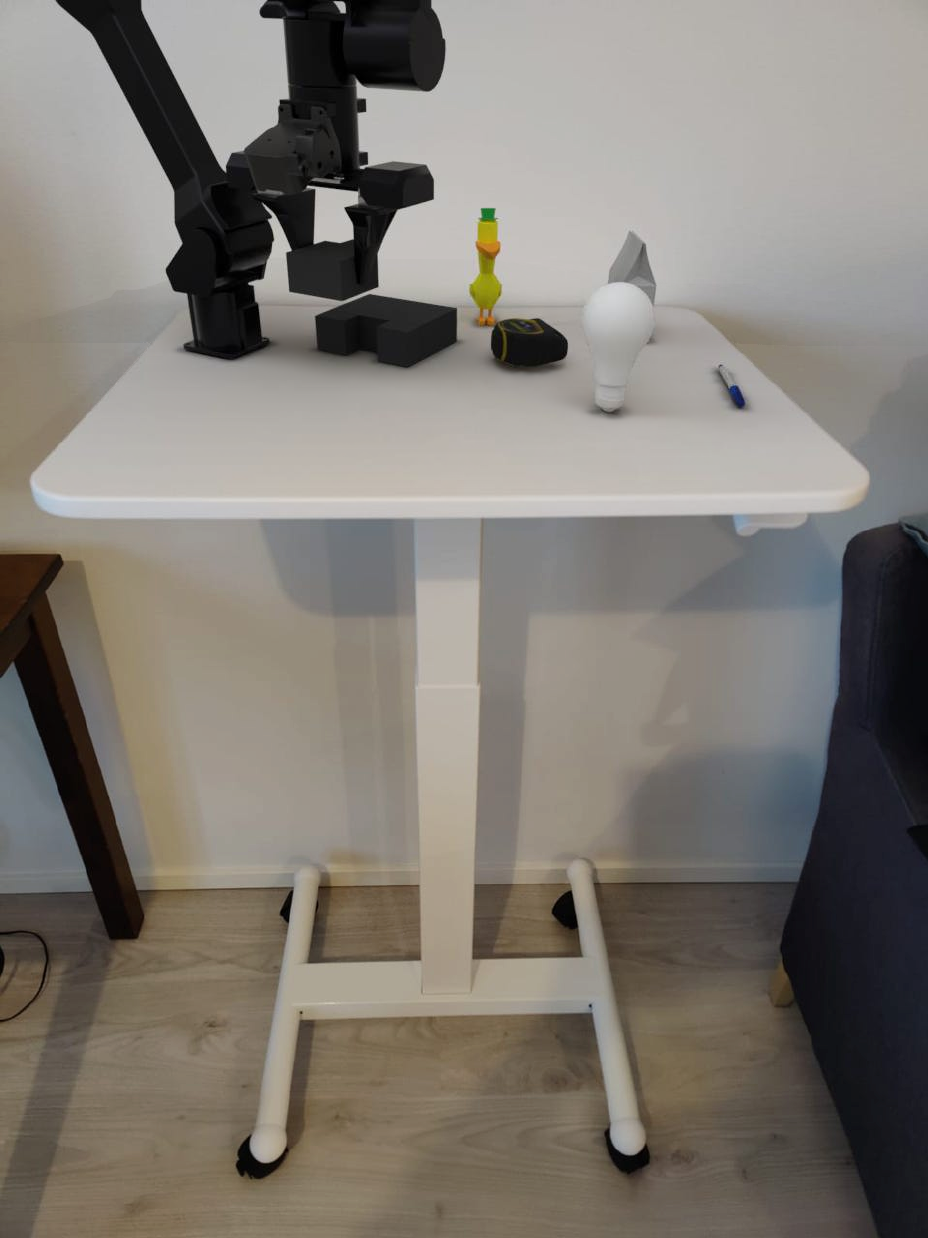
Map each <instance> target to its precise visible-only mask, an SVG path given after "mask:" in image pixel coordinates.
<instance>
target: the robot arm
mask: <svg viewBox="0 0 928 1238" xmlns="http://www.w3.org/2000/svg"><path fill="white" fill-rule="evenodd" d="M54 1H55V2H56V4H57V5H58V6H59V7H60V8H61V9H63V10H64V11H65V13H67V14H68V15H70V17H72V18H73V19H74V20H75V21H77V23H79V24H80V25H81V26H82V27H83V28H85V29H86V31H88V32H89V33H90V34H91V36H92V37H93V39H94V40H95V43H96V44H97V47H98V48H99V50H100V52H101V54H102V56H103V58H104V60H105V61H106V63H107V66H108V67H109V70H110V71H111V74H112V75H113V76H114V79H115V80H116V82H117V84H118V85H119V88H120V90H121V92H122V94H123V96H124V98H125V100H126V101H127V104H128V105H129V107H130V109H131V111H132V113H133V115H134V117H135V118H136V121H137V123H138V124H139V126H140V128H141V130H142V132H143V134H144V136H145V138H146V141H148V143H149V145H150V147H151V149H152V151H153V153H154V155H155V157H156V159H157V161H158V163H159V165H160V166H161V169H162V170H163V172H164V175H165V176H166V177H167V180H168V182H169V184H170V185H171V188H172V190H173V193H174V194H173V209H174V210H173V211H174V213H173V214H174V216H173V217H174V219H173V220H174V226H175V228H176V231H177V233H178V236H179V239H180V241H181V245H180V247H179V248H178V250H177V251H176V252H175V254H174V256H173V257H172V259H171V260H170V262H169V263H168V265H167V266H166V267H165V274H166V276H167V279H168V282H169V284H170V287H171V289H172V291H173V292H176V293H181V294H186V297H187V298H186V299H187V304H188V310H189V311H188V312H189V318H190V325H191V330H192V338H193V339H192V340H189V341H187V342H185V343H183V344H182V346H183V349H184V350H188V351H191V352H196V353H201V354H206V355H210V356H216V357H220V358H225V359H234V358H237V357H240V356H242V355H244V354H247V353H249V352H252V351H253V350H256V349H258V348H261V347H264V346H266V345H268V344H270V343H271V339H270V337H268V336H263V332H262V325H261V324H262V323H261V315H260V314H261V313H260V304H259V302H258V301H256V292H255V285H253V284H250V283H252V282H255V281H261V280H264V278H265V274H266V269H267V264H268V261H269V259H270V256H271V254H272V251H273V244H274V243H275V235H274V231H273V228H272V225H271V222H270V221H269V220H272V219H273V215H272V214H271V213H273V214H274V216H275V217H276V219H277V221H278V223H279V225H280V227H281V229H282V231H283V234H284V235H285V238H286V241H287V243H288V245H289V248H290V251H293V250H296V249H299V248H302V247H306V246H309V245H312V244H315V224H316V223H315V221H316V220H315V219H316V188H322V189H331V190H340V191H348V192H356V193H357V203H355V204H351V205H348V206H344V207H343V209H344V211H345V213H346V215H347V216H348V218H349V220H350V222H351V223H352V232H353V233H352V234H353V239H354V262H355V272H356V279H357V283H358V284H364V283H366V282H367V280H368V277H369V275H370V272H371V270H372V267H373V264H374V262H375V259H376V257H377V254H378V255H379V252H380V249H381V246H382V244H383V241H384V239H385V236H386V234H387V232H388V230H389V229H390V226H391V224H392V222H393V220H394V219H395V216H396V214H397V213H398V211H399V210H403V209H407V208H410V207H414V206H417V205H420V204H424V203H427V202H431V201H434V200H435V179H434V177H433V175H432V173H431V171H430V169H429V167H428V165H427V164H424V163H415V162H403V161H397V160H396V161H394V160H392V161H388V162H383V163H378V164H374V165H370V166H369V152H368V151H363V150H362V151H361V150H360V137H359V135H360V134H359V133H360V132H359V114H363V113H367V98H364V97H363V98H361V97H358V86H357V84H358V83H359V84H360V85H361V86H362V87H364V88H367V89H380V90H395V91H406V92H407V91H409V92H423V93H429V92H432V91H433V90H434V89H436V87H437V85H438V84H439V83H440V80H441V78H442V74H443V71H444V68H445V61H446V51H447V50H446V49H447V47H446V45H447V44H446V39H445V38H444V36H443V29H442V25H441V22H440V19H439V17H438V14H437V13H436V11H435V10H434V9H433V8H432V1H433V0H266V1H265V2H264V3H263V5H262V6H261V7H260V8H259V16H260V17H261V18H262V19H268V20H269V19H270V20H282V23H283V25H282V26H283V37H284V52H285V65H286V77H287V91H288V98H281V99H278V100H279V101H278V102H279V105H278V106H277V115H278V116H277V117H278V119H277V124H275V125H274V126H271V127H270V128H268V129H266V130H265V131H264V132H263V133H261V134H259V136H257V138H255V139H253V141H251V143H250V142H249V144H248V145H246V147H244V149H243V150H242V151H241V150H240V151H234V152H231V153H230V155H229V157H228V160H227V163H226V165H225V170H224V169H223V168H222V165H220V163H219V161H218V159H217V157H216V155H215V154H214V151H213V149H212V148H211V145H210V144H209V142H208V139H207V138H206V135H205V133H204V131H203V129H202V128H201V126H200V124H199V121H198V120H197V118H196V116H195V113H194V111H193V110H192V108H191V105H190V104H189V102H188V100H187V98H186V96H185V94H184V92H183V90H182V88H181V86H180V84H179V82H178V80H177V78H176V76H175V74H174V72H173V70H172V69H171V66H170V65H169V62H168V60H167V58H166V57H165V55H164V53H163V50H162V49H161V47H160V45H159V42H158V40H157V38H156V36H155V35H154V33H153V31H152V29H151V26H150V25H149V23H148V21H147V19H146V17H145V14H144V12H143V7H142V6H143V5H142V4H143V3H142V2H143V1H142V0H54ZM335 2H339V3H341V2H342V3H344V5H345V6H344V7H345V12H341V10H340V8H339V7H338V5H337V4H336V3H335ZM361 167H364V168H361ZM311 187H312V188H311ZM313 187H314V188H313ZM267 208H268V209H269V210H270V212H271V213H270V212H269V211H268V210H267Z"/></svg>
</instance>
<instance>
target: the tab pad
mask: <svg viewBox="0 0 928 1238" xmlns="http://www.w3.org/2000/svg"><path fill="white" fill-rule="evenodd" d="M285 257H286V269H287V279H288V281H287V282H288V291H289V293H294V294H299V295H305V296H309V297H315V298H321V299H326V300H327V299H328V300H331V301H332V300H333V301H338V302H344V301H347V300H350V299H352V298H355V297H357V296H359V295H362V294H364V293H367V292H369V291H372V290H374V289H377V288H379V286H380V283H379V281H380V280H379V253H378V254H377V257H376V259H375V262H374V264H373V267H372V270H371V272H370V275H369V277H368V280H367V282H366V283H364V284H358V283H357V279H356V272H355V262H354V238H351V239H349V240H346V241H343V242H337V241H330V240H329V241H328V240H323V241H319V242H316V243H314V244H312V245H309V246H306V247H302V248H299V249H296V250H293V251H292V250H290V251H286V252H285Z"/></svg>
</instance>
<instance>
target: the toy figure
mask: <svg viewBox="0 0 928 1238" xmlns="http://www.w3.org/2000/svg"><path fill="white" fill-rule="evenodd" d="M496 209H497V208H496V207H481V208H480V213H481V217H478V221H477V238H476V239H477V240H476V241H475V248H476V250H477V258H478V259H477V260H478V267H479V273H478V275H477V276H476V278H475V279H474V281H473V282H472V283H469V289H468V290H469V296H470V298H471V297H472V300H473V301H474V303H475V305H476V306H477V308H478V309H479V317H477V325H478V326H480V327H483V326H486V325H488V326H490V327H491V326H492V327H494V326H495V325H496V318H495V317H493V309H494V307H495V305H496V304H497V302H499V299H500V297H501V296H502V292H503V291H502V290H503V288H502V287H503V284H502V283H501V282H500V281H499V279H498V278H497V276H496V274H495V273H494V272H495V264H496V257H498V255H499V254H500V252H501V246H502V245H501V242H500V241H499V240H498V235H499V234H498V233H499V232H498V231H499V228H498V227H499V222H498V221H497V220H499V218H498V217H495V215H496ZM484 311H487V317H485V316H484Z"/></svg>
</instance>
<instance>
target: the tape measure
mask: <svg viewBox="0 0 928 1238" xmlns="http://www.w3.org/2000/svg"><path fill="white" fill-rule="evenodd" d="M568 350H569V341H568V339H567V338H566V337H565V335H564V334H563V333H561V332H560V331H559V330H557V329H555V328H554V327H553V326H551V325H550V324H549V323H547V322H545V320H543V319H542V318H540V317H535V318H529V319H528V318H518V317H517V318H515V317H513V318H507V319H502V320H500V321H498V322H496V323H495V324H494V326H493V329H492V330H491V335H490V351H492V352H491V353H492V355H493V357H494V358H496V359H497V360H498V361H499V362H502V363H504V364H507V365H510V366H513V368H520V367H526V368H529V367H532V368H533V367H540V366H545V365H549V364H552V363H557V362H561V361H562V360H565V358H566V357H567V356H568Z"/></svg>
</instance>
